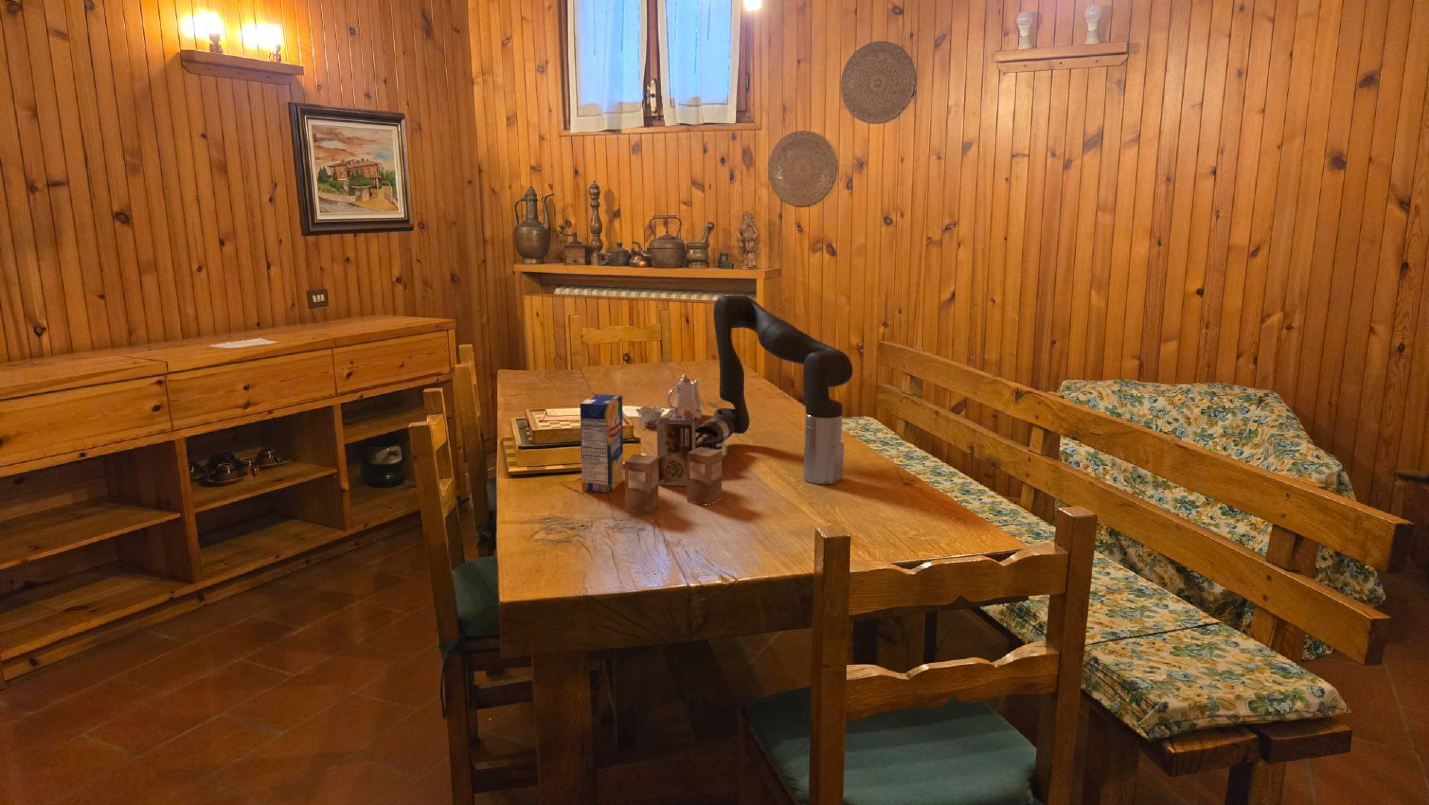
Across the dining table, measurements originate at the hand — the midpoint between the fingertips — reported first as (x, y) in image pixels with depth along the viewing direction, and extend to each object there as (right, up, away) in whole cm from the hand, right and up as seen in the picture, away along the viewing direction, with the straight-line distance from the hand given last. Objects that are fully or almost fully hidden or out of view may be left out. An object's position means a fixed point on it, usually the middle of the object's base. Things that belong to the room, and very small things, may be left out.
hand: (687, 450), depth 240 cm
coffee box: (-3, -8, -3) cm, 9 cm away
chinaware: (-5, +6, +57) cm, 57 cm away
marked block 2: (+4, -11, -16) cm, 20 cm away
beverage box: (-21, -9, -6) cm, 24 cm away
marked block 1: (-10, -12, -23) cm, 28 cm away
